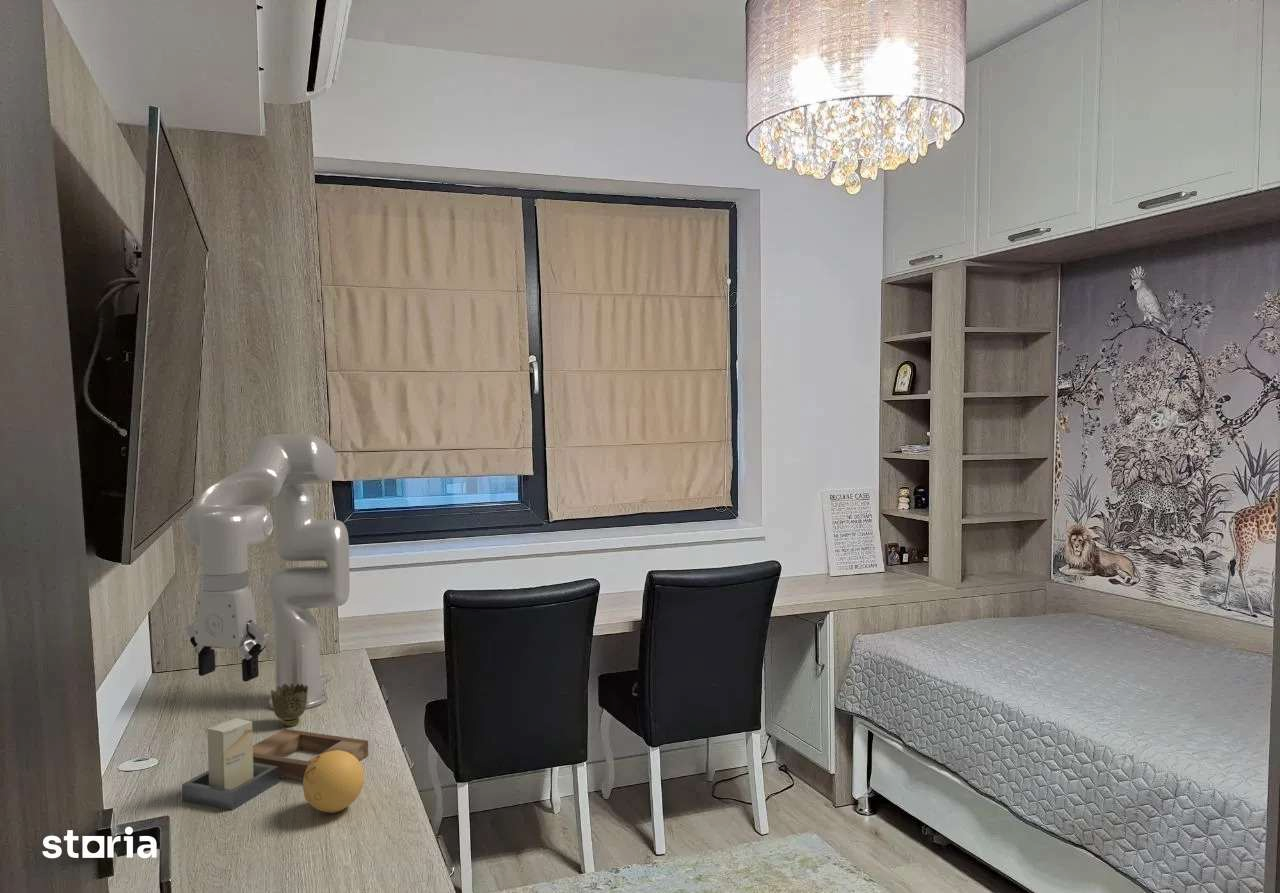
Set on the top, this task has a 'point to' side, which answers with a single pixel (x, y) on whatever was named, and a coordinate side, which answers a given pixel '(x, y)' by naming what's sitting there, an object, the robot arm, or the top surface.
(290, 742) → the wooden tray frame
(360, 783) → the stress ball
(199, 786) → the frame
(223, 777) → the skincare box
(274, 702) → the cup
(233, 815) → the top surface
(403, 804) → the top surface
